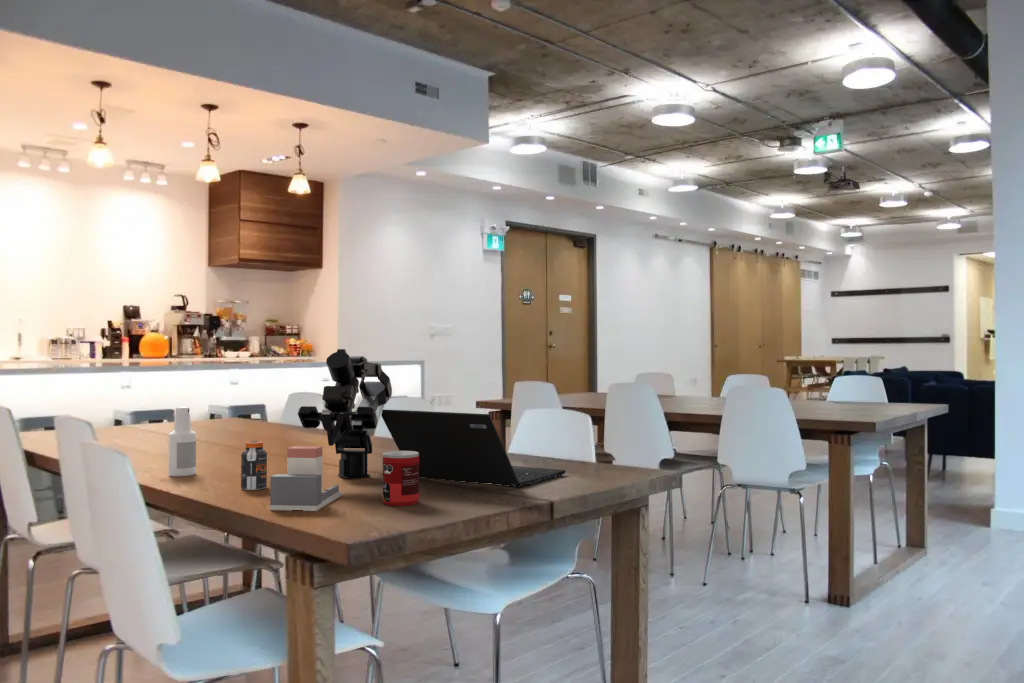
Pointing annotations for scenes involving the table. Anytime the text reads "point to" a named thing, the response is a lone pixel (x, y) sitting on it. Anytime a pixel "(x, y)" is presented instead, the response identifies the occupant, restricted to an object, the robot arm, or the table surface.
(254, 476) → the pill bottle
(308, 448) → the cream and pink block
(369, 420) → the robot arm
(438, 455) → the laptop
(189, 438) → the spray bottle
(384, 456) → the canned food
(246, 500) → the table surface
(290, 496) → the grey and white holder
